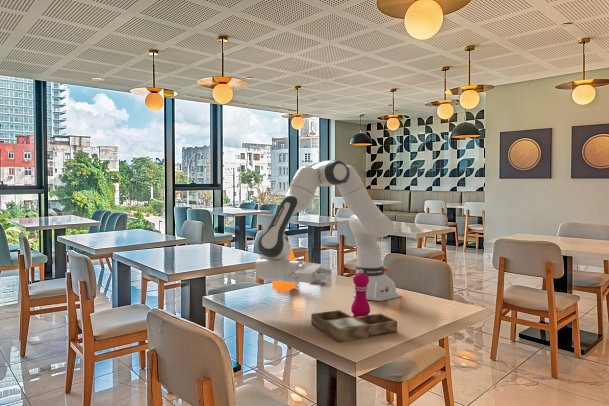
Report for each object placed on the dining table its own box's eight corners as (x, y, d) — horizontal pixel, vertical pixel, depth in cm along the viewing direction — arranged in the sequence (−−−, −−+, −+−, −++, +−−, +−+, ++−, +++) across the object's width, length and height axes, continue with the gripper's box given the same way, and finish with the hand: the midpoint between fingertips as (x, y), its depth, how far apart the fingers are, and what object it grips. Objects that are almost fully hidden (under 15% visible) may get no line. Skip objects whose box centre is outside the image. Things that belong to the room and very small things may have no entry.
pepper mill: (349, 318, 172) (350, 267, 171) (367, 317, 173) (368, 267, 172) (353, 324, 165) (353, 271, 164) (372, 323, 166) (372, 271, 164)
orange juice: (272, 288, 219) (272, 248, 218) (286, 285, 225) (286, 246, 224) (280, 291, 213) (281, 250, 212) (295, 288, 219) (295, 248, 218)
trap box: (365, 316, 175) (365, 305, 174) (396, 332, 157) (397, 320, 156) (311, 324, 164) (311, 313, 164) (338, 342, 146) (338, 329, 146)
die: (317, 286, 226) (327, 270, 229) (303, 277, 227) (313, 261, 230) (317, 288, 234) (326, 272, 236) (303, 279, 235) (312, 264, 238)
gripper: (287, 268, 164) (323, 271, 161) (301, 259, 184) (334, 261, 180) (286, 285, 164) (323, 288, 161) (301, 274, 184) (333, 277, 181)
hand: (329, 274), depth 171 cm, fingers open, 8 cm apart
